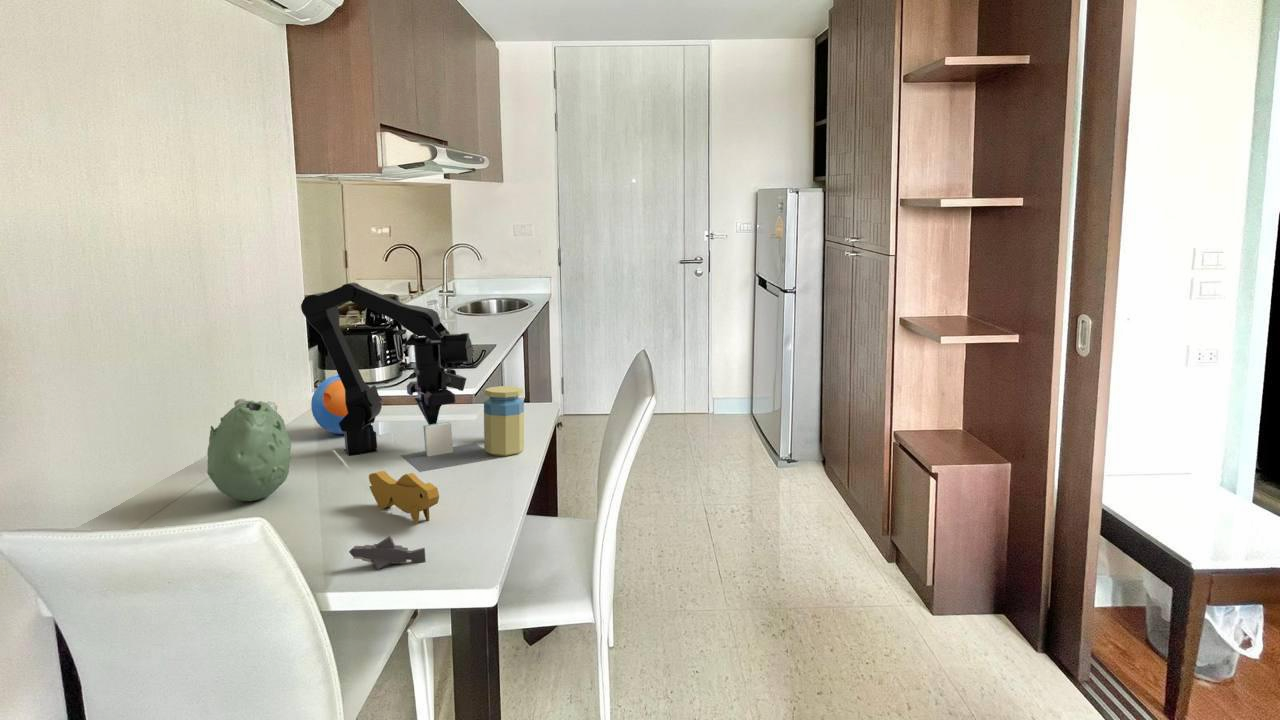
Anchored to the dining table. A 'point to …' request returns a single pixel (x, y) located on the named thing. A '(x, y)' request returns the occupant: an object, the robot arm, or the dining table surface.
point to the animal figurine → (387, 553)
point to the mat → (448, 457)
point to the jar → (503, 421)
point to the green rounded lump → (249, 451)
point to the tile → (438, 439)
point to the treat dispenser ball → (329, 404)
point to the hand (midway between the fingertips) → (432, 428)
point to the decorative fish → (404, 493)
